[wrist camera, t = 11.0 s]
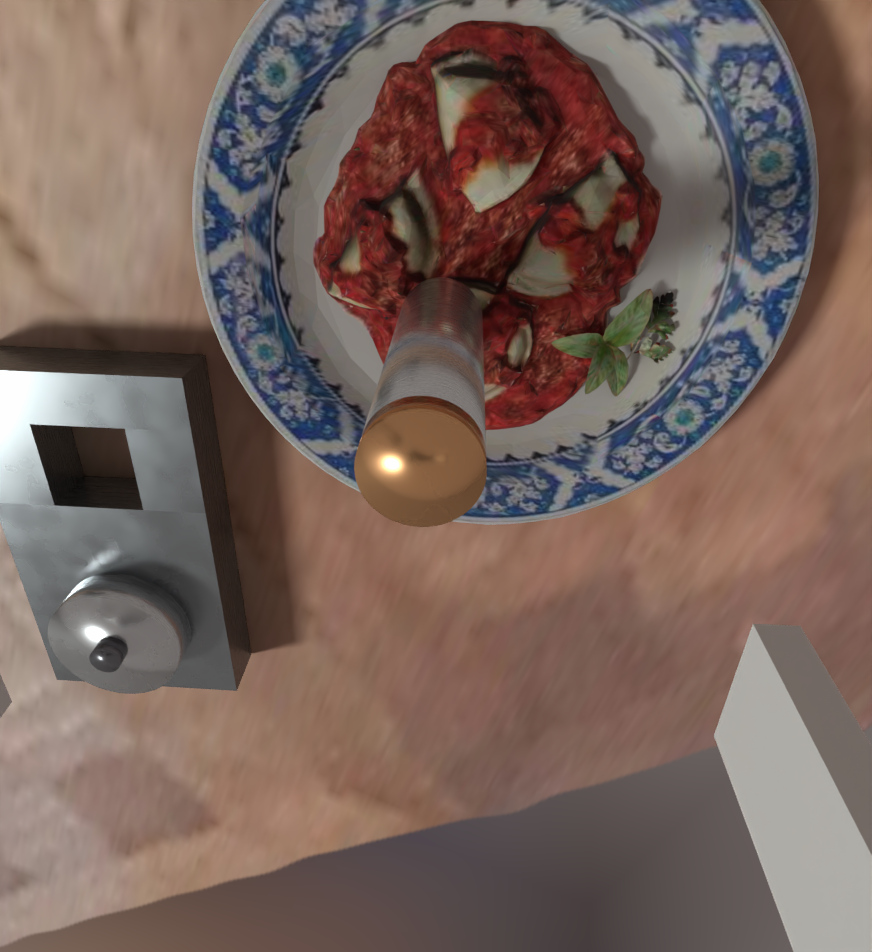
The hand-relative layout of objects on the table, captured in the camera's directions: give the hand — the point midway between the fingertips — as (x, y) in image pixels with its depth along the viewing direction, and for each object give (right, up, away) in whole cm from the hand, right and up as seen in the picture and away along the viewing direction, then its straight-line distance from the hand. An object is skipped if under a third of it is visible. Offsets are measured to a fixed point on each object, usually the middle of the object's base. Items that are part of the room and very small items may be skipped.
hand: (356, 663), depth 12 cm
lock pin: (+2, +10, +17) cm, 20 cm away
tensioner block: (-16, +1, +27) cm, 31 cm away
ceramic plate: (+4, +13, +19) cm, 23 cm away
